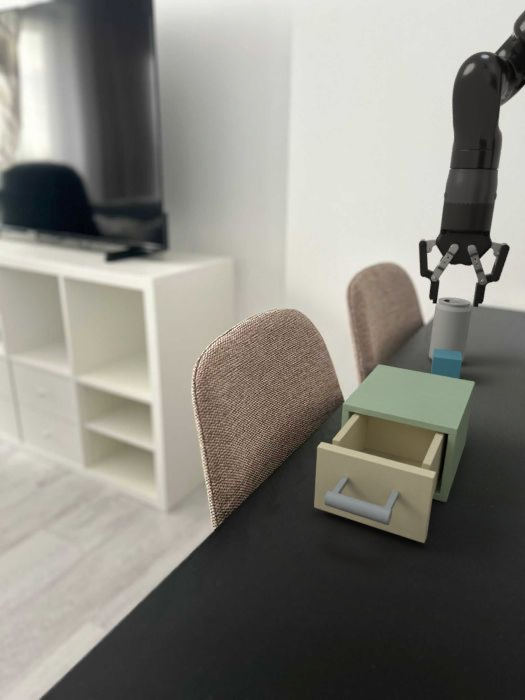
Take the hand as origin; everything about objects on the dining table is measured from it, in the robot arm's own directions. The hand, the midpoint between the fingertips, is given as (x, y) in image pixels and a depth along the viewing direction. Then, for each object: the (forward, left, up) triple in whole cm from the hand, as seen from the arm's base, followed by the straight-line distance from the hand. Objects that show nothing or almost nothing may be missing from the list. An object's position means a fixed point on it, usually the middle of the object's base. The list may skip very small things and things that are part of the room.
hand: (454, 303), depth 86 cm
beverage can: (-5, -8, -14) cm, 17 cm away
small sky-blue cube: (0, 0, -14) cm, 14 cm away
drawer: (+27, +32, -13) cm, 44 cm away
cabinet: (+19, +23, -14) cm, 33 cm away
